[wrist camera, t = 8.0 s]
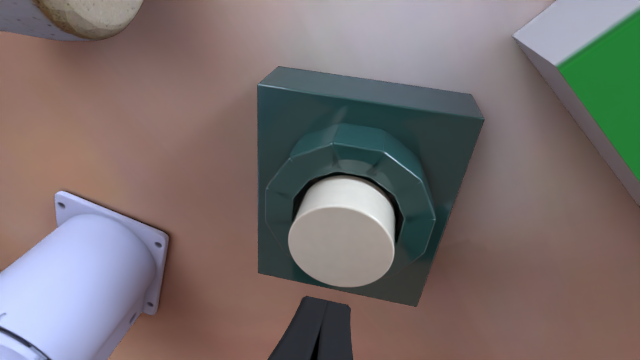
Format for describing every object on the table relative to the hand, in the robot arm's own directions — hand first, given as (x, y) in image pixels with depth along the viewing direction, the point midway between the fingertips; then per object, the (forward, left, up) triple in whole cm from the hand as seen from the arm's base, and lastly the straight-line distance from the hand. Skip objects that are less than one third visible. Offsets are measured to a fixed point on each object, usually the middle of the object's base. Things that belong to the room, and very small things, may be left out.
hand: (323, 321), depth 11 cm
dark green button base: (-1, 0, -10) cm, 10 cm away
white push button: (0, 0, -5) cm, 5 cm away
